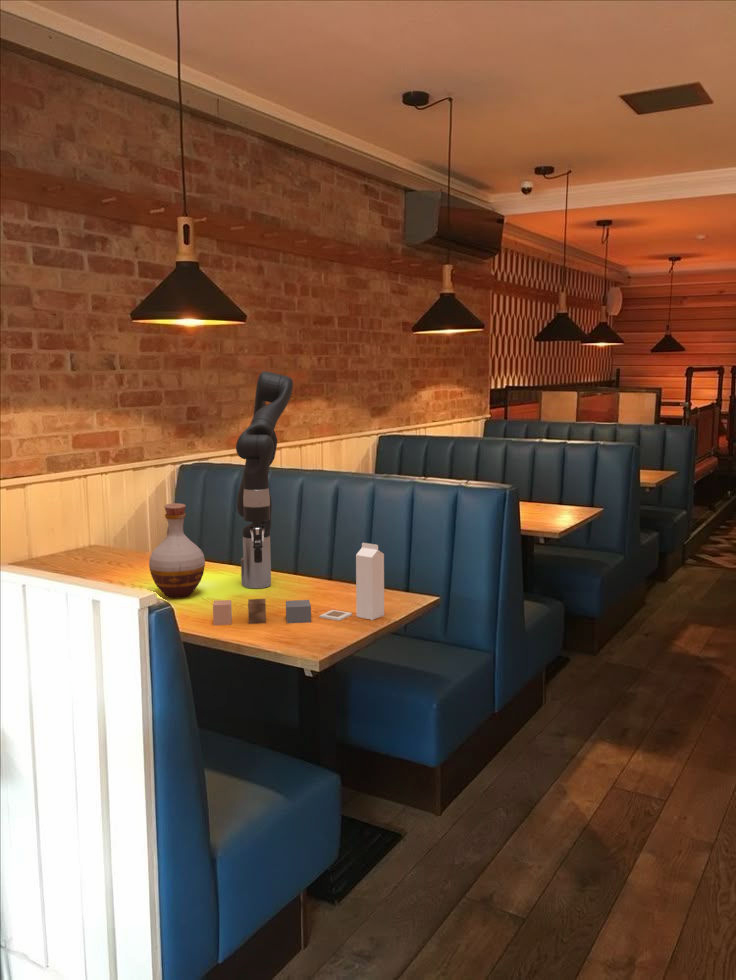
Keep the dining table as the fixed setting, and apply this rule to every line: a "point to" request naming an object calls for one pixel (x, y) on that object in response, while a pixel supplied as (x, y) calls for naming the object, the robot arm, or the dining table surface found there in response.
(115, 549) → the dining table surface
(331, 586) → the dining table surface
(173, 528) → the jug
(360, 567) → the milk
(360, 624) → the dining table surface
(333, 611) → the tile
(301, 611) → the charcoal block
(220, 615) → the terracotta block
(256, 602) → the walnut block
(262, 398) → the robot arm
